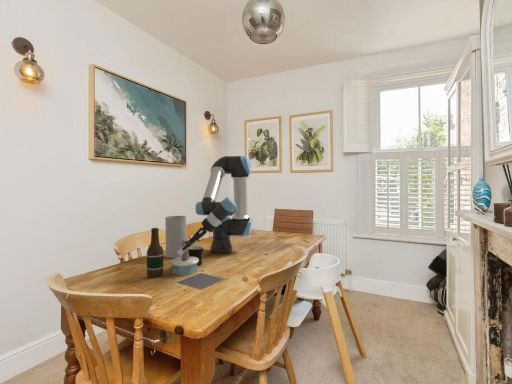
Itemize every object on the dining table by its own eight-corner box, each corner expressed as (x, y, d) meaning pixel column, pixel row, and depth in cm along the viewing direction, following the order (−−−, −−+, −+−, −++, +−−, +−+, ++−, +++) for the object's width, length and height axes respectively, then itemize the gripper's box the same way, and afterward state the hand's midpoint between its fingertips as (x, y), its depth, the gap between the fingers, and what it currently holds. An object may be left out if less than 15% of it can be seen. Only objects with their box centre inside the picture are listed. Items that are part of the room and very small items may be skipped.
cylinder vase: (174, 252, 182) (174, 215, 181) (190, 254, 177) (190, 216, 176) (161, 257, 170) (161, 217, 169) (177, 259, 165) (177, 218, 165)
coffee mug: (200, 267, 149) (200, 249, 149) (185, 266, 151) (185, 249, 151) (208, 262, 161) (207, 245, 160) (194, 261, 162) (194, 244, 162)
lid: (185, 257, 152) (185, 237, 152) (204, 261, 145) (204, 240, 144) (165, 263, 140) (165, 242, 140) (184, 267, 133) (184, 245, 133)
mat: (200, 273, 140) (200, 272, 140) (225, 279, 131) (225, 278, 131) (176, 283, 126) (176, 282, 126) (201, 290, 118) (201, 289, 118)
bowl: (185, 266, 151) (185, 257, 151) (202, 270, 145) (202, 261, 145) (167, 272, 141) (167, 263, 140) (184, 277, 134) (184, 267, 134)
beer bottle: (146, 275, 137) (146, 227, 137) (162, 273, 140) (162, 226, 140) (147, 280, 130) (146, 229, 130) (164, 277, 133) (163, 228, 133)
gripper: (211, 231, 129) (180, 262, 130) (220, 223, 154) (194, 250, 155) (200, 220, 129) (169, 251, 130) (211, 214, 154) (185, 240, 155)
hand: (183, 250), depth 142 cm, fingers open, 13 cm apart
